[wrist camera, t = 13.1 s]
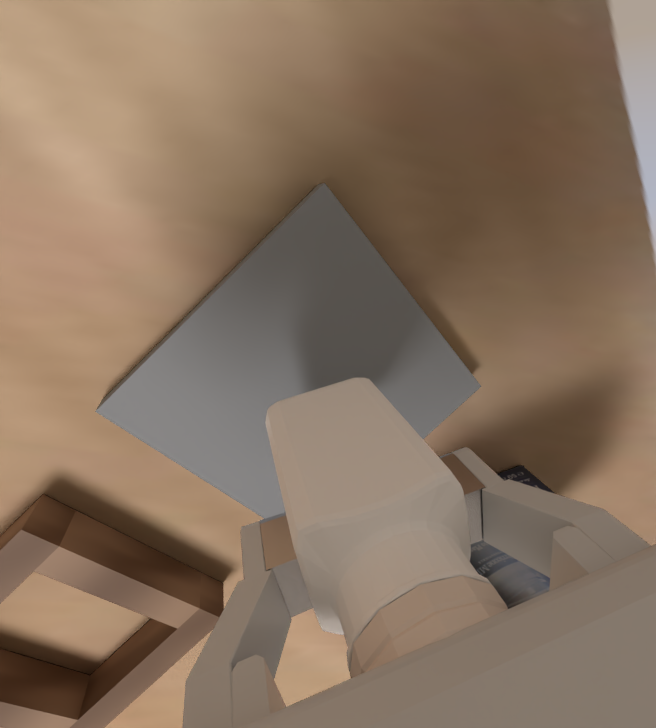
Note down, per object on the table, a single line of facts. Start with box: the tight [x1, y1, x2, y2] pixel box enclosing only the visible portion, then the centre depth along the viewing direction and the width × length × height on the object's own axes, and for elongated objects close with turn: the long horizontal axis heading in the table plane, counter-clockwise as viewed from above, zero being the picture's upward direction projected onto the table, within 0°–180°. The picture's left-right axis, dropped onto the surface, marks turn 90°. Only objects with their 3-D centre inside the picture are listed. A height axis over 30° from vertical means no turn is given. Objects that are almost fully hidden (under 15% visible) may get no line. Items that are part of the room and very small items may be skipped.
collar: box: [0, 494, 224, 728], centre depth 18 cm, size 10×10×2 cm
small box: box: [470, 465, 555, 609], centre depth 19 cm, size 11×6×10 cm, turn 101°
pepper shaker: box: [265, 378, 508, 678], centre depth 10 cm, size 4×4×10 cm
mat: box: [95, 183, 481, 519], centre depth 17 cm, size 12×12×1 cm
